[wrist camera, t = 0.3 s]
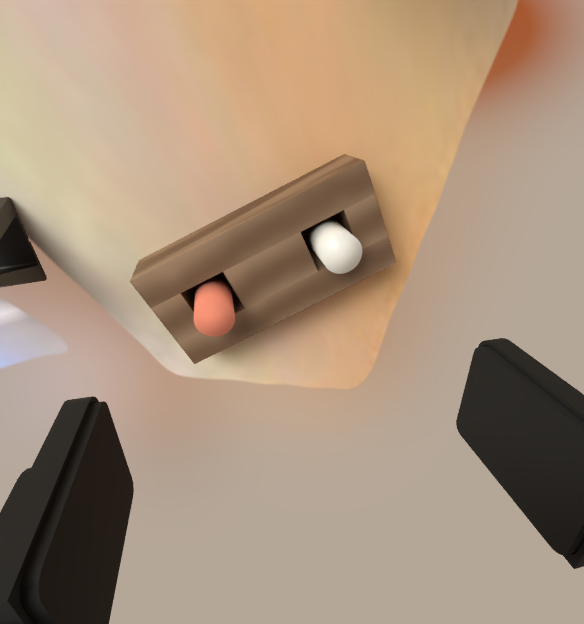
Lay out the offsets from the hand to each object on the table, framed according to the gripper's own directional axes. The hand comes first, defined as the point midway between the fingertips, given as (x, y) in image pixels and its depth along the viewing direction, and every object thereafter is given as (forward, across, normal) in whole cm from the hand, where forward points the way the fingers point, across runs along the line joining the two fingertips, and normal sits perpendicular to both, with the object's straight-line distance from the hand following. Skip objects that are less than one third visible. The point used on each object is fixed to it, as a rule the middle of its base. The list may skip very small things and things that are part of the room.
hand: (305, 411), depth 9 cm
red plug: (+31, +3, +11) cm, 33 cm away
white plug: (+31, -10, +5) cm, 33 cm away
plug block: (+36, -4, +8) cm, 37 cm away
